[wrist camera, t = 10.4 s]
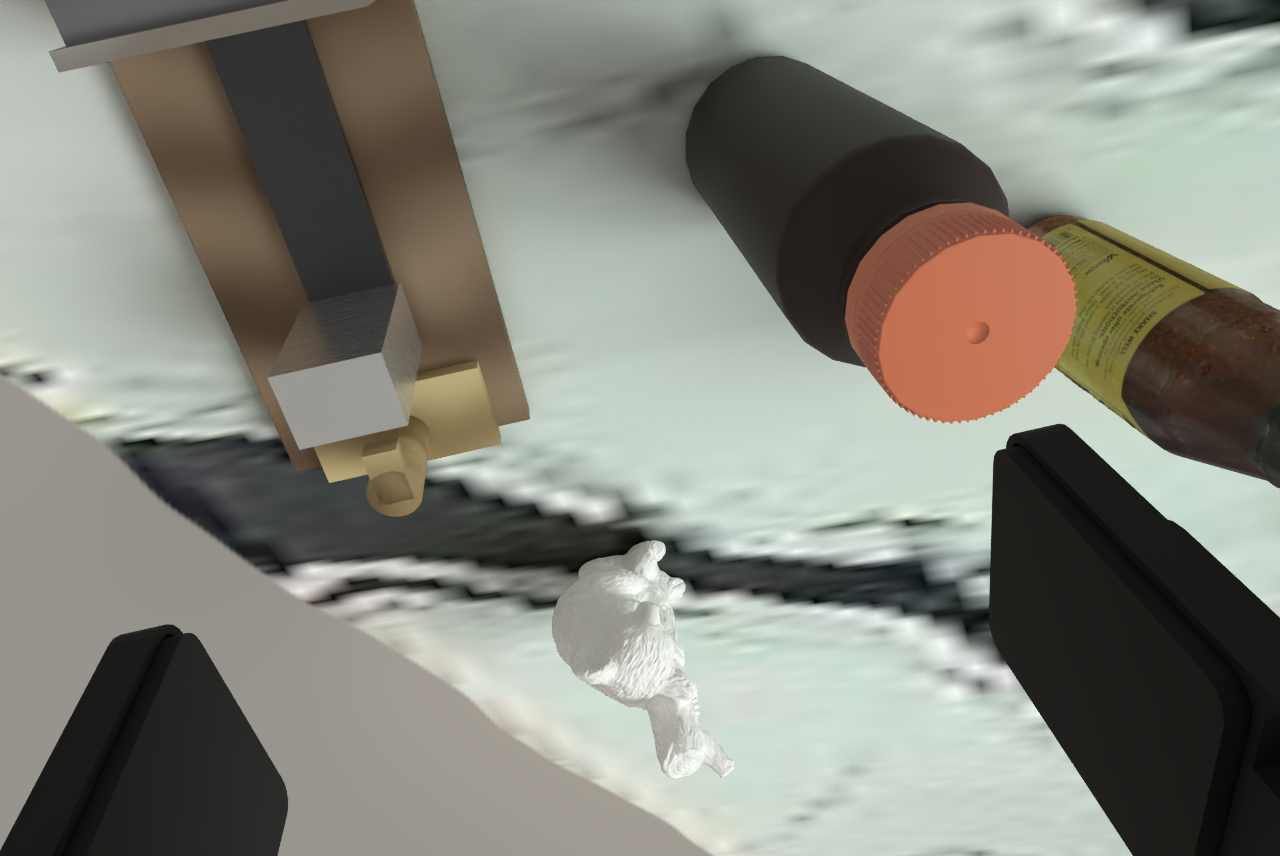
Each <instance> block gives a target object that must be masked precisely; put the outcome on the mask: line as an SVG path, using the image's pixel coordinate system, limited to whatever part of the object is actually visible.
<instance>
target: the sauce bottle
mask: <svg viewBox="0 0 1280 856" xmlns="http://www.w3.org/2000/svg"><path fill="white" fill-rule="evenodd" d="M1027 229H1028V230H1029V231H1031V232H1033V233H1034V234H1036V235H1037V236H1039V237H1041V238H1042V239H1044V240H1045V241H1046V242H1048V243H1050V244H1051V246H1052V247H1054V248H1055V249H1057V252H1058V253H1059V254H1061V255H1062V259H1064V260H1065V261H1067V263H1066V264H1065V265H1066V266H1068V267H1069V268H1071V270H1070V271H1068V272H1069V273H1071V274H1072V275H1074V277H1073V278H1071V279H1072V281H1074V282H1075V283H1076V284H1075V285H1074V289H1075V290H1077V292H1076V293H1075V294H1074V295H1075V297H1076V298H1077V299H1078V300H1077V301H1075V306H1077V307H1078V308H1077V309H1076V313H1075V314H1076V315H1077V317H1074V321H1073V322H1074V323H1075V325H1074V326H1072V330H1071V331H1072V332H1073V333H1072V334H1070V338H1069V340H1070V341H1069V342H1068V343H1067V345H1066V346H1065V348H1066V350H1063V352H1062V354H1061V356H1062V357H1061V358H1059V359H1058V361H1057V365H1055V366H1054V367H1055V368H1056V369H1057V370H1059V371H1060V372H1061V373H1063V374H1064V375H1065V376H1066V377H1068V378H1069V379H1070V380H1071V381H1072V382H1074V383H1075V384H1077V385H1078V386H1079V387H1080V388H1082V389H1083V390H1085V391H1087V392H1088V393H1089V394H1091V395H1092V396H1093V397H1094V398H1095V399H1097V400H1098V401H1099V402H1101V403H1102V404H1104V405H1105V406H1106V407H1107V408H1108V409H1110V410H1112V411H1113V412H1114V413H1116V414H1117V415H1118V416H1120V417H1121V418H1122V419H1124V420H1125V421H1126V422H1128V423H1129V424H1130V425H1131V426H1132V427H1134V428H1135V429H1137V430H1138V431H1139V432H1140V433H1142V434H1143V435H1145V436H1146V437H1147V438H1149V439H1150V440H1152V441H1153V442H1154V443H1156V444H1157V445H1158V446H1160V447H1161V448H1163V449H1164V450H1166V451H1168V452H1170V453H1172V454H1175V455H1177V456H1181V457H1184V458H1188V459H1191V460H1195V461H1199V462H1202V463H1206V464H1209V465H1213V466H1216V467H1220V468H1223V469H1227V470H1231V471H1234V472H1238V473H1241V474H1245V475H1248V476H1252V477H1256V478H1259V479H1263V480H1266V481H1269V482H1270V483H1271V484H1272V485H1274V486H1276V487H1277V488H1280V310H1278V309H1275V308H1273V307H1272V306H1270V305H1268V304H1265V303H1263V302H1262V301H1261V300H1260V299H1259V298H1258V297H1256V296H1255V295H1254V294H1252V293H1250V292H1248V291H1246V290H1244V289H1242V288H1239V287H1237V286H1235V285H1233V284H1231V283H1229V282H1227V281H1224V280H1222V279H1220V278H1218V277H1216V276H1214V275H1212V274H1210V273H1208V272H1206V271H1204V270H1201V269H1199V268H1197V267H1195V266H1193V265H1191V264H1189V263H1187V262H1185V261H1183V260H1181V259H1178V258H1176V257H1174V256H1172V255H1170V254H1168V253H1166V252H1164V251H1162V250H1160V249H1157V248H1155V247H1153V246H1151V245H1149V244H1147V243H1145V242H1143V241H1141V240H1138V239H1136V238H1134V237H1132V236H1130V235H1128V234H1126V233H1124V232H1122V231H1119V230H1117V229H1115V228H1113V227H1111V226H1109V225H1107V224H1104V223H1102V222H1098V221H1093V220H1088V219H1085V218H1082V217H1073V216H1051V217H1048V218H1046V219H1043V220H1040V221H1039V222H1036V223H1034V224H1033V225H1032V226H1030V227H1028V228H1027Z"/></svg>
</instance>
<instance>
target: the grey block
mask: <svg viewBox="0 0 1280 856" xmlns="http://www.w3.org/2000/svg"><path fill="white" fill-rule="evenodd" d="M205 42H206V45H207V47H208V50H209V52H210V55H211V57H212V60H213V62H214V65H215V67H216V70H217V72H218V75H219V77H220V80H221V82H222V85H223V87H224V90H225V92H226V95H227V97H228V100H229V102H230V105H231V107H232V110H233V112H234V115H235V117H236V120H237V122H238V125H239V127H240V130H241V132H242V135H243V137H244V140H245V142H246V145H247V147H248V150H249V152H250V155H251V157H252V160H253V162H254V165H255V167H256V170H257V172H258V175H259V177H260V180H261V182H262V185H263V187H264V190H265V192H266V195H267V197H268V200H269V202H270V205H271V207H272V210H273V212H274V215H275V217H276V220H277V222H278V225H279V227H280V230H281V232H282V235H283V237H284V240H285V242H286V245H287V247H288V250H289V252H290V255H291V257H292V260H293V262H294V265H295V267H296V270H297V272H298V275H299V277H300V280H301V282H302V285H303V287H304V290H305V292H306V295H307V297H308V300H309V301H306V302H304V304H303V306H302V308H301V310H300V312H299V314H298V316H297V318H296V320H295V323H294V325H293V327H292V329H291V331H290V333H289V335H288V337H287V339H286V341H285V343H284V345H283V347H282V349H281V351H280V353H279V355H278V357H277V359H276V361H275V363H274V365H273V367H272V369H271V371H270V373H269V375H268V380H269V383H270V385H271V387H272V389H273V392H274V394H275V396H276V398H277V401H278V403H279V405H280V407H281V410H282V412H283V414H284V416H285V419H286V421H287V423H288V425H289V427H290V430H291V432H292V434H293V436H294V439H295V441H296V443H297V445H298V448H299V450H301V449H306V448H310V447H315V446H319V445H324V444H328V443H332V442H337V441H341V440H346V439H350V438H355V437H359V436H363V435H368V434H372V433H377V432H381V431H386V430H390V429H395V428H399V427H403V426H408V423H409V417H410V411H411V406H412V400H413V394H414V389H415V383H416V377H417V372H418V366H419V360H420V355H421V349H422V343H421V340H420V337H419V334H418V331H417V329H416V326H415V323H414V320H413V317H412V314H411V311H410V308H409V305H408V302H407V299H406V296H405V293H404V290H403V287H402V284H401V281H396V282H395V279H394V276H393V273H392V270H391V267H390V264H389V261H388V258H387V255H386V252H385V249H384V247H383V244H382V241H381V238H380V235H379V232H378V229H377V226H376V223H375V220H374V217H373V214H372V212H371V209H370V206H369V203H368V200H367V197H366V194H365V191H364V188H363V185H362V182H361V179H360V176H359V174H358V171H357V168H356V165H355V162H354V159H353V156H352V153H351V150H350V147H349V144H348V141H347V139H346V136H345V133H344V130H343V127H342V124H341V121H340V118H339V115H338V112H337V109H336V106H335V103H334V101H333V98H332V95H331V92H330V89H329V86H328V83H327V80H326V77H325V74H324V71H323V68H322V66H321V63H320V60H319V57H318V54H317V51H316V48H315V45H314V42H313V39H312V36H311V33H310V31H309V28H308V25H307V22H306V20H301V21H296V22H292V23H287V24H282V25H278V26H273V27H268V28H264V29H259V30H254V31H250V32H245V33H240V34H236V35H231V36H226V37H222V38H217V39H212V40H208V41H205Z"/></svg>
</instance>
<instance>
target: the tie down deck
mask: <svg viewBox="0 0 1280 856" xmlns="http://www.w3.org/2000/svg"><path fill="white" fill-rule="evenodd" d="M45 2H46V4H47V6H48V8H49V11H50V13H51V15H52V17H53V19H54V21H55V23H56V25H57V27H58V29H59V32H60V34H61V36H62V38H63V40H64V42H65V44H66V46H65V47H62V48H59V49H56V50H53V51H49V53H50V55H51V57H52V59H53V61H54V63H55V66H56V68H57V70H58V72H63V71H68V70H73V69H77V68H82V67H87V66H91V65H96V64H101V63H105V62H110V64H111V67H112V69H113V71H114V73H115V75H116V78H117V80H118V82H119V84H120V86H121V89H122V91H123V93H124V95H125V97H126V100H127V102H128V104H129V106H130V108H131V110H132V113H133V115H134V117H135V119H136V121H137V124H138V126H139V128H140V130H141V132H142V135H143V137H144V139H145V141H146V143H147V146H148V148H149V150H150V152H151V154H152V157H153V159H154V161H155V163H156V165H157V168H158V170H159V172H160V174H161V176H162V178H163V181H164V183H165V185H166V187H167V189H168V192H169V194H170V196H171V198H172V200H173V203H174V205H175V207H176V209H177V211H178V214H179V216H180V218H181V220H182V222H183V225H184V227H185V229H186V231H187V233H188V236H189V238H190V240H191V242H192V244H193V246H194V249H195V251H196V253H197V255H198V257H199V260H200V262H201V264H202V266H203V268H204V271H205V273H206V275H207V277H208V279H209V282H210V284H211V286H212V288H213V290H214V293H215V295H216V297H217V299H218V301H219V304H220V306H221V308H222V310H223V312H224V315H225V317H226V319H227V321H228V323H229V325H230V328H231V330H232V332H233V334H234V336H235V339H236V341H237V343H238V345H239V347H240V350H241V352H242V354H243V356H244V358H245V361H246V363H247V365H248V367H249V369H250V372H251V374H252V376H253V378H254V380H255V383H256V385H257V387H258V389H259V391H260V393H261V396H262V398H263V400H264V402H265V404H266V407H267V409H268V411H269V413H270V415H271V418H272V420H273V422H274V424H275V426H276V429H277V431H278V433H279V435H280V437H281V440H282V442H283V444H284V446H285V448H286V451H287V453H288V455H289V457H290V459H291V461H292V464H293V466H294V468H295V470H296V472H298V471H303V470H307V469H312V468H316V467H320V466H322V467H323V470H324V472H325V474H326V477H327V479H328V481H329V483H331V482H336V481H340V480H345V479H349V478H353V477H358V476H362V475H367V474H368V476H369V482H368V487H367V499H368V501H369V503H370V505H371V506H372V507H373V508H374V509H375V510H376V511H378V512H379V513H381V514H384V515H387V516H392V517H400V516H405V515H408V514H410V513H412V512H413V511H415V510H416V509H417V508H418V507H419V505H420V503H421V501H422V497H423V489H424V481H425V474H426V466H427V461H428V460H433V459H437V458H442V457H446V456H451V455H455V454H459V453H464V452H468V451H473V450H477V449H481V448H486V447H490V446H495V445H499V444H501V434H500V431H499V428H498V426H502V425H506V424H511V423H515V422H519V421H524V420H528V419H530V416H529V407H528V403H527V400H526V396H525V393H524V389H523V386H522V382H521V378H520V375H519V371H518V368H517V364H516V361H515V357H514V354H513V350H512V347H511V343H510V340H509V336H508V333H507V329H506V326H505V322H504V318H503V315H502V311H501V308H500V304H499V301H498V297H497V294H496V290H495V287H494V283H493V280H492V276H491V273H490V269H489V265H488V262H487V258H486V255H485V251H484V248H483V244H482V241H481V237H480V234H479V230H478V227H477V223H476V220H475V216H474V212H473V209H472V205H471V202H470V198H469V195H468V191H467V188H466V184H465V181H464V177H463V174H462V170H461V167H460V163H459V160H458V156H457V152H456V149H455V145H454V142H453V138H452V135H451V131H450V128H449V124H448V121H447V117H446V114H445V110H444V107H443V103H442V99H441V96H440V92H439V89H438V85H437V82H436V78H435V75H434V71H433V68H432V64H431V61H430V57H429V54H428V50H427V47H426V43H425V39H424V36H423V32H422V29H421V25H420V22H419V18H418V15H417V11H416V8H415V4H414V1H413V0H45ZM301 20H306V22H307V25H308V28H309V31H310V33H311V36H312V39H313V42H314V45H315V48H316V51H317V54H318V57H319V60H320V63H321V66H322V68H323V71H324V74H325V77H326V80H327V83H328V86H329V89H330V92H331V95H332V98H333V101H334V103H335V106H336V109H337V112H338V115H339V118H340V121H341V124H342V127H343V130H344V133H345V136H346V139H347V141H348V144H349V147H350V150H351V153H352V156H353V159H354V162H355V165H356V168H357V171H358V174H359V176H360V179H361V182H362V185H363V188H364V191H365V194H366V197H367V200H368V203H369V206H370V209H371V212H372V214H373V217H374V220H375V223H376V226H377V229H378V232H379V235H380V238H381V241H382V244H383V247H384V249H385V252H386V255H387V258H388V261H389V264H390V267H391V270H392V273H393V276H394V279H395V282H396V281H401V284H402V287H403V290H404V293H405V296H406V299H407V302H408V305H409V308H410V311H411V314H412V317H413V320H414V323H415V326H416V329H417V331H418V334H419V337H420V340H421V343H422V349H421V355H420V360H419V366H418V372H417V377H416V383H415V389H414V394H413V400H412V406H411V411H410V417H409V423H408V426H403V427H399V428H395V429H390V430H386V431H381V432H377V433H372V434H368V435H363V436H359V437H355V438H350V439H346V440H341V441H337V442H332V443H328V444H324V445H319V446H315V447H310V448H306V449H301V450H299V448H298V445H297V443H296V441H295V439H294V436H293V434H292V432H291V430H290V427H289V425H288V423H287V421H286V419H285V416H284V414H283V412H282V410H281V407H280V405H279V403H278V401H277V398H276V396H275V394H274V392H273V389H272V387H271V385H270V383H269V380H268V375H269V373H270V371H271V369H272V367H273V365H274V363H275V361H276V359H277V357H278V355H279V353H280V351H281V349H282V347H283V345H284V343H285V341H286V339H287V337H288V335H289V333H290V331H291V329H292V327H293V325H294V323H295V320H296V318H297V316H298V314H299V312H300V310H301V308H302V306H303V304H304V302H306V301H309V300H308V297H307V295H306V292H305V290H304V287H303V285H302V282H301V280H300V277H299V275H298V272H297V270H296V267H295V265H294V262H293V260H292V257H291V255H290V252H289V250H288V247H287V245H286V242H285V240H284V237H283V235H282V232H281V230H280V227H279V225H278V222H277V220H276V217H275V215H274V212H273V210H272V207H271V205H270V202H269V200H268V197H267V195H266V192H265V190H264V187H263V185H262V182H261V180H260V177H259V175H258V172H257V170H256V167H255V165H254V162H253V160H252V157H251V155H250V152H249V150H248V147H247V145H246V142H245V140H244V137H243V135H242V132H241V130H240V127H239V125H238V122H237V120H236V117H235V115H234V112H233V110H232V107H231V105H230V102H229V100H228V97H227V95H226V92H225V90H224V87H223V85H222V82H221V80H220V77H219V75H218V72H217V70H216V67H215V65H214V62H213V60H212V57H211V55H210V52H209V50H208V47H207V45H206V42H205V41H208V40H212V39H217V38H222V37H226V36H231V35H236V34H240V33H245V32H250V31H254V30H259V29H264V28H268V27H273V26H278V25H282V24H287V23H292V22H296V21H301Z"/></svg>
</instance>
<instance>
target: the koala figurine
mask: <svg viewBox="0 0 1280 856" xmlns="http://www.w3.org/2000/svg"><path fill="white" fill-rule="evenodd" d="M665 550H666V548H665V545H664V543H662V542H660V541H654V540H652V541H645V542H641V543H639V544H636V545H634V546H633V547H631V549H630V550H629V551H628V552H627V554H625V555H615V556H608V557H605V558H604V557H603V558H597V559H594V560H591V561H589V562H586V563H585V564H584V565H582V567H581V568H580V570H579V579H578V580H576V581H575V582H574V583H573V584H571V585H570V586H569V587H568V588H567V589H566V590H565V592H564V593H563V594H562V595H561V597H560V598H559V599H558V602H557V605H556V607H555V610H554V615H553V618H552V619H553V620H552V635H553V638H554V640H555V643H556V647H557V651H558V652H559V655H560V657H561V658H562V659H563V660H564V661H565V662H566V664H568V665H569V666H570V667H571V669H572V671H573V673H574V674H575V675H576V676H577V677H578V678H579V679H581V680H583V681H585V682H586V683H587V684H589V685H590V686H592V687H594V689H597V690H599V691H601V692H602V693H604V694H605V695H606V696H609V697H610V698H613V699H614V700H617V701H618V702H620V703H622V704H624V705H626V706H628V707H638V708H642V709H644V710H645V709H646V710H647V711H648V714H649V717H650V721H651V725H652V730H653V734H654V739H655V747H656V752H657V757H658V760H659V763H660V765H661V769H662V772H663V773H666V775H667V776H668V777H670V778H673V779H675V778H680V777H687V776H689V775H691V774H693V773H694V772H695V771H696V770H697V769H699V767H700V765H701V764H702V762H703V763H704V764H707V765H708V766H710V767H711V768H712V769H713V770H714V771H715V772H716V773H717V774H719V775H720V777H725V776H726V775H728V774H729V773H730V771H732V770H733V768H734V760H733V759H732V758H730V757H729V756H728V754H727V753H726V752H725V751H724V749H723V747H722V746H721V745H720V744H719V743H718V742H717V741H716V740H715V739H714V738H713V737H712V736H711V735H710V734H709V733H708V732H707V731H705V730H703V729H702V728H701V727H700V725H699V722H698V716H699V715H700V712H699V711H697V710H696V709H698V708H699V704H697V703H696V701H697V700H698V698H697V695H698V691H697V688H696V686H695V683H694V682H693V681H692V679H691V678H690V677H688V675H687V672H686V669H685V668H684V661H685V658H684V657H685V654H684V652H683V648H682V647H681V646H680V644H678V642H677V632H676V626H675V617H674V613H673V610H672V607H671V602H670V601H672V600H676V599H679V598H681V597H682V594H683V592H684V591H685V586H686V585H685V584H684V582H683V580H681V579H680V578H675V577H674V578H673V577H669V576H668V575H667V574H666V573H665V572H663V571H661V570H660V569H659V567H658V564H657V562H658V561H659V560H661V558H662V557H663V555H664V554H665Z"/></svg>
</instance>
